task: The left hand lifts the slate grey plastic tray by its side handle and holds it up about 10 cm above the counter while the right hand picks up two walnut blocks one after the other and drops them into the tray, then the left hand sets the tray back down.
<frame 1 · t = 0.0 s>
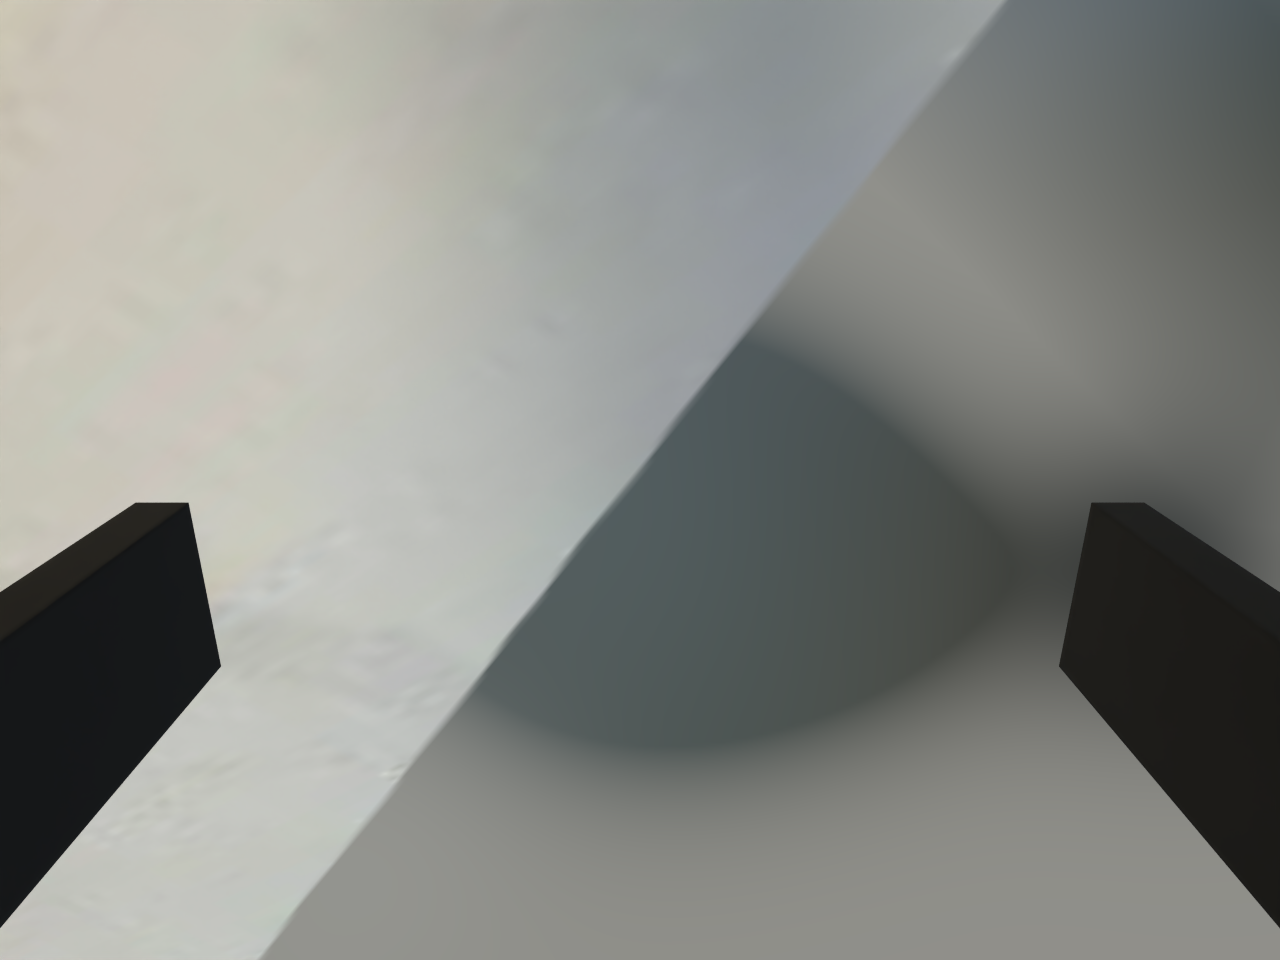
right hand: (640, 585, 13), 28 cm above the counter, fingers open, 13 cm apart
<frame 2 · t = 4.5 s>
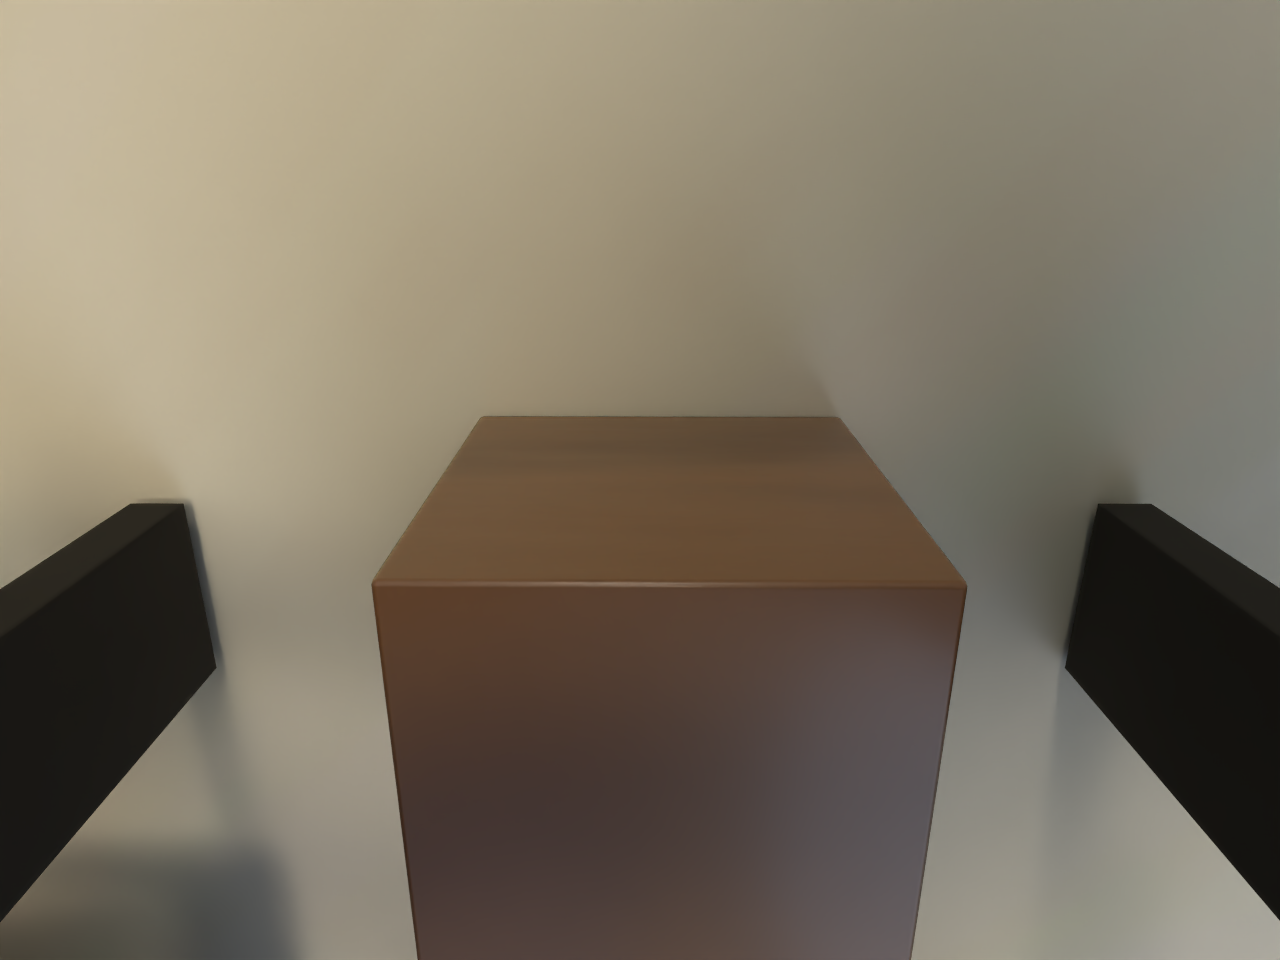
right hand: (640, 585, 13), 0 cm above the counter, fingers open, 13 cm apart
walnut block 1: (658, 577, 13), on the counter
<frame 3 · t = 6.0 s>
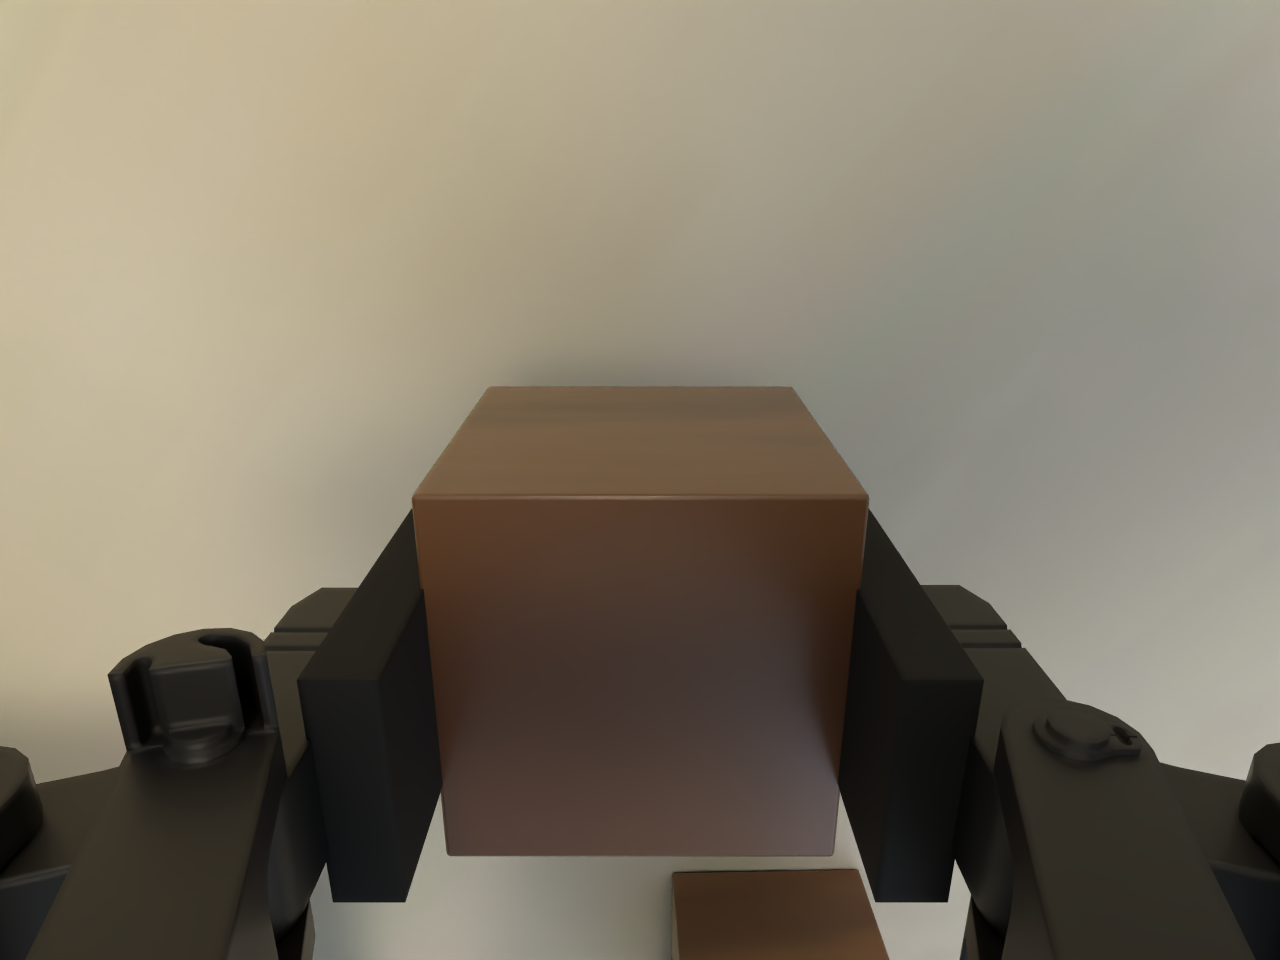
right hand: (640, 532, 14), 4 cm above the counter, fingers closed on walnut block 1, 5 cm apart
walnut block 2: (761, 941, 23), on the counter
walnut block 1: (640, 526, 15), point 4 cm above the counter, touching right hand
when the right hand's fingers open (19 cm above the counter, at t = 8.9 s): walnut block 1 drops 9 cm, resting on tray.
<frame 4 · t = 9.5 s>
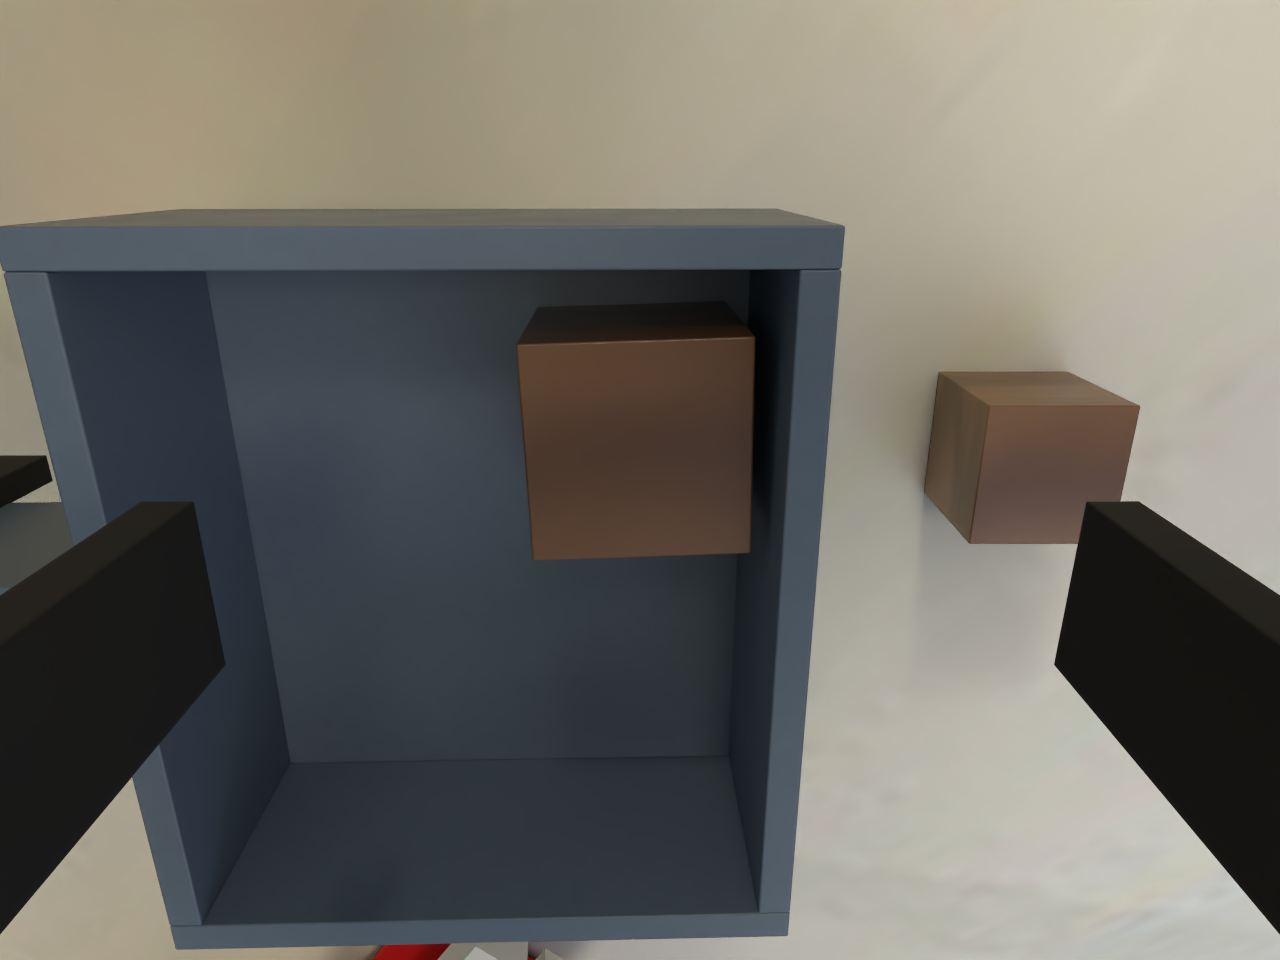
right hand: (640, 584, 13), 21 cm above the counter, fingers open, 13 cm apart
walnut block 2: (994, 433, 33), on the counter
walnut block 1: (634, 396, 23), point 9 cm above the counter, touching tray
tray: (500, 519, 25), point 9 cm above the counter, touching left hand, walnut block 1
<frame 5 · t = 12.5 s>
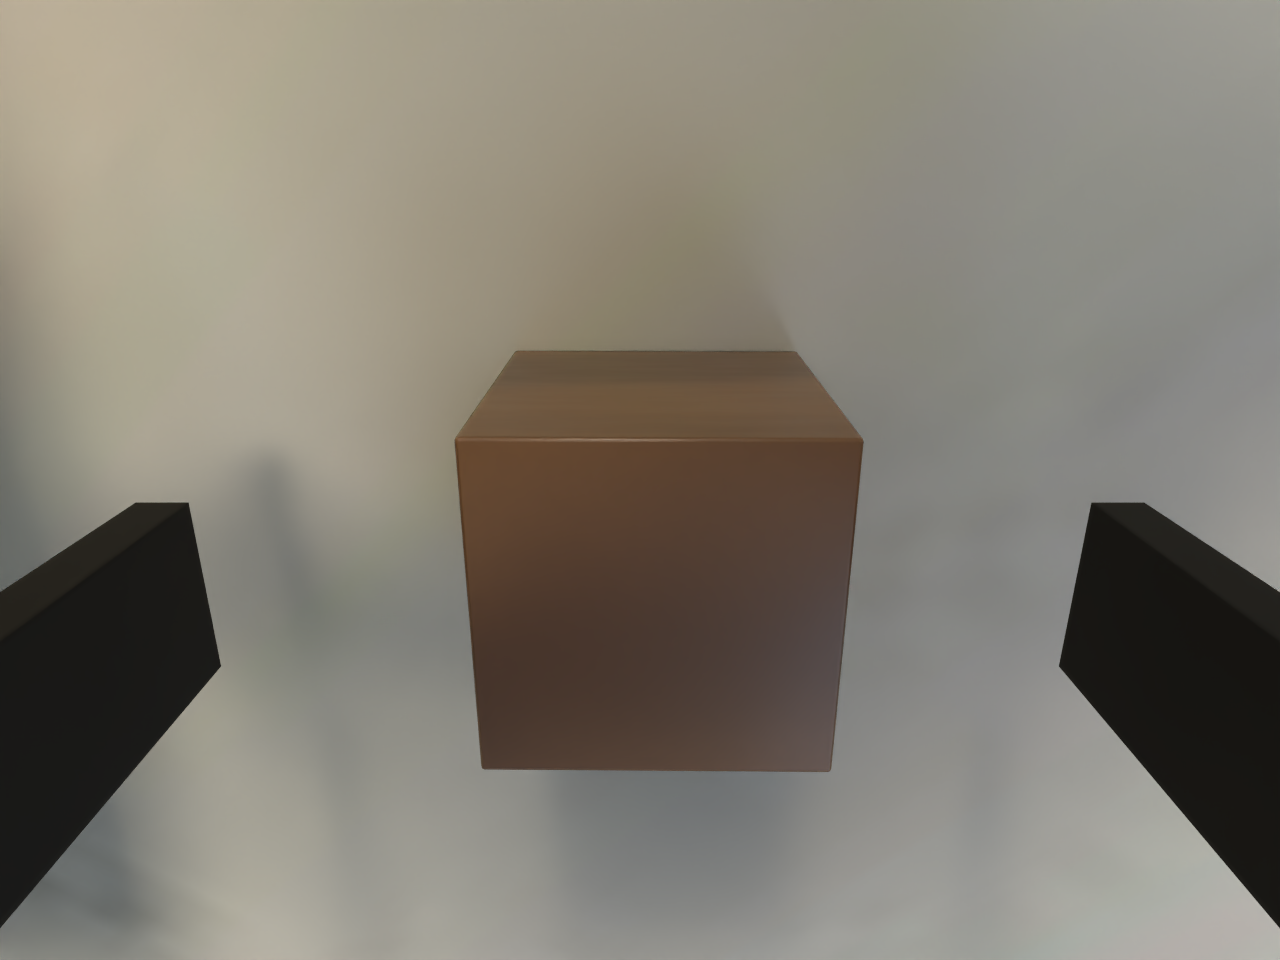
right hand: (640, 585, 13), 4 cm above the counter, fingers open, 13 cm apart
walnut block 2: (654, 482, 16), on the counter
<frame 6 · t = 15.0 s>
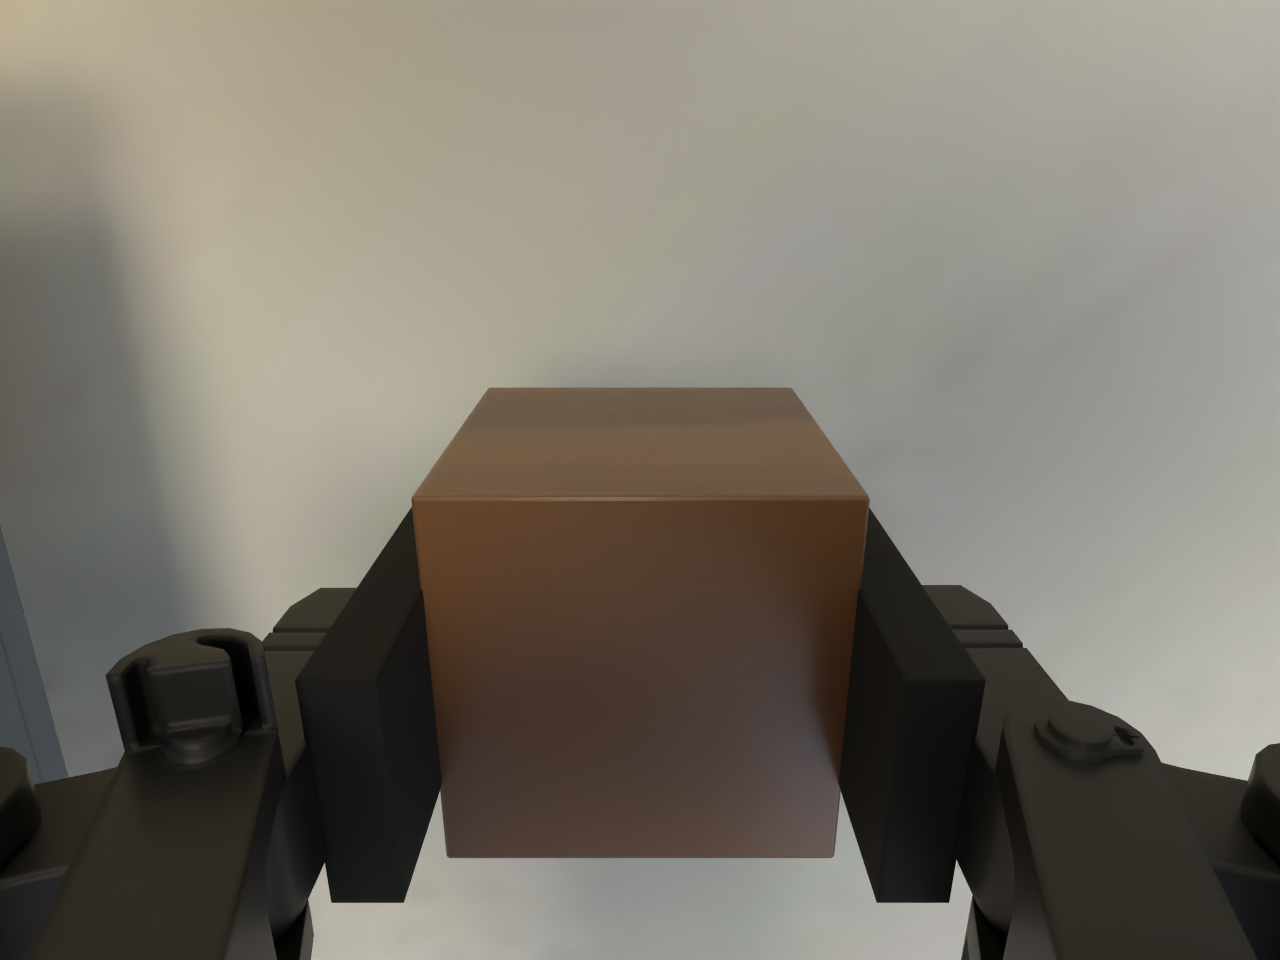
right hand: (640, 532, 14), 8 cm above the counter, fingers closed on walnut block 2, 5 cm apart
walnut block 2: (640, 527, 15), point 7 cm above the counter, touching right hand
when the right hand's fingers open (19 cm above the counter, at t = 17.8 s): walnut block 2 drops 11 cm, resting on tray.
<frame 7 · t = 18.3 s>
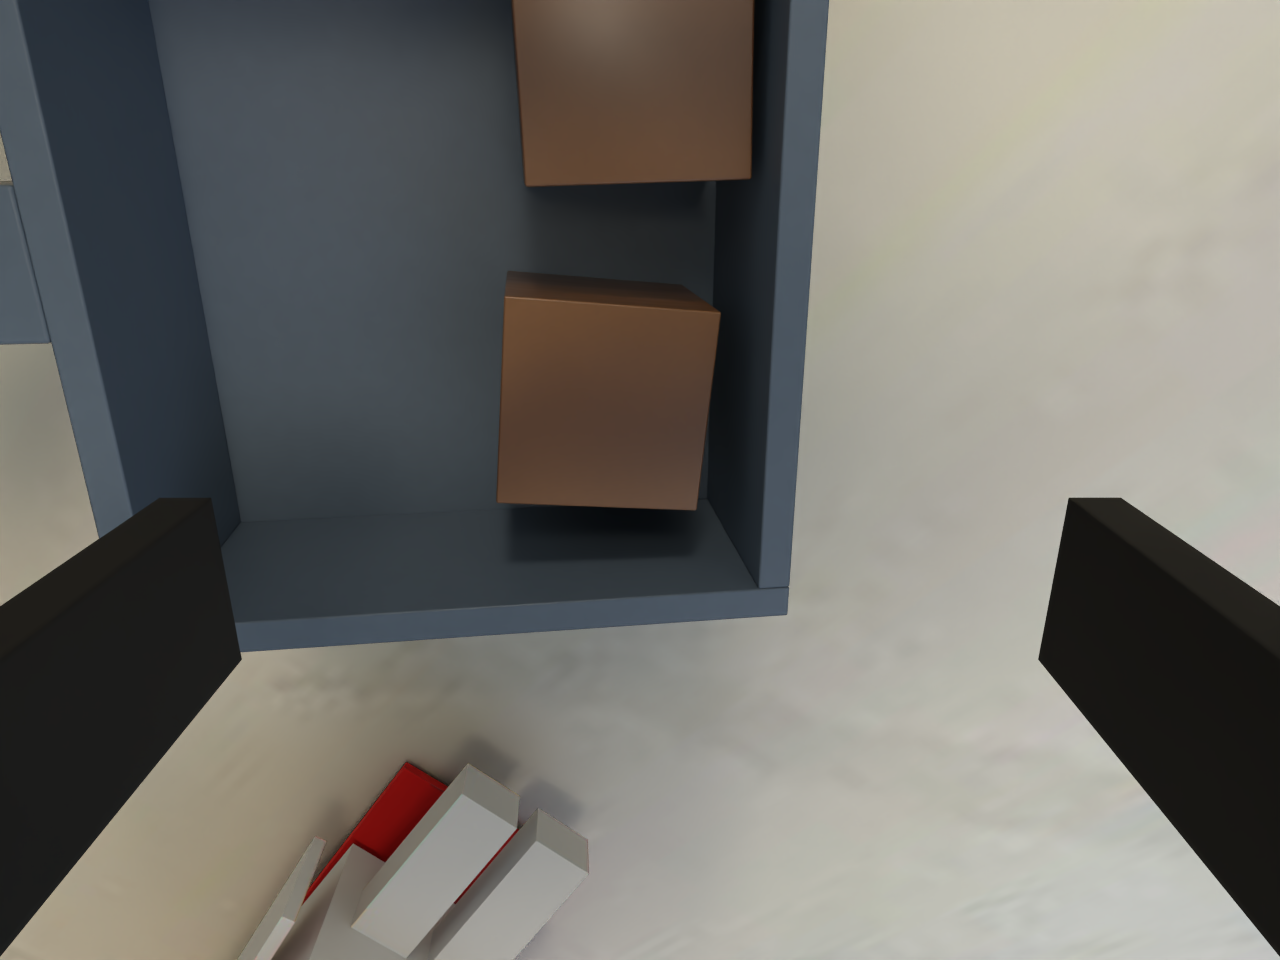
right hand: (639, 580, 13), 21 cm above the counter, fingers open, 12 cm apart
toy: (357, 941, 43), on the counter
walnut block 2: (590, 364, 25), point 8 cm above the counter, tilted 8°, touching tray
walnut block 1: (612, 79, 22), point 7 cm above the counter, tilted 8°, touching tray
tray: (464, 235, 24), point 7 cm above the counter, tilted 8°, touching left hand, walnut block 1, walnut block 2
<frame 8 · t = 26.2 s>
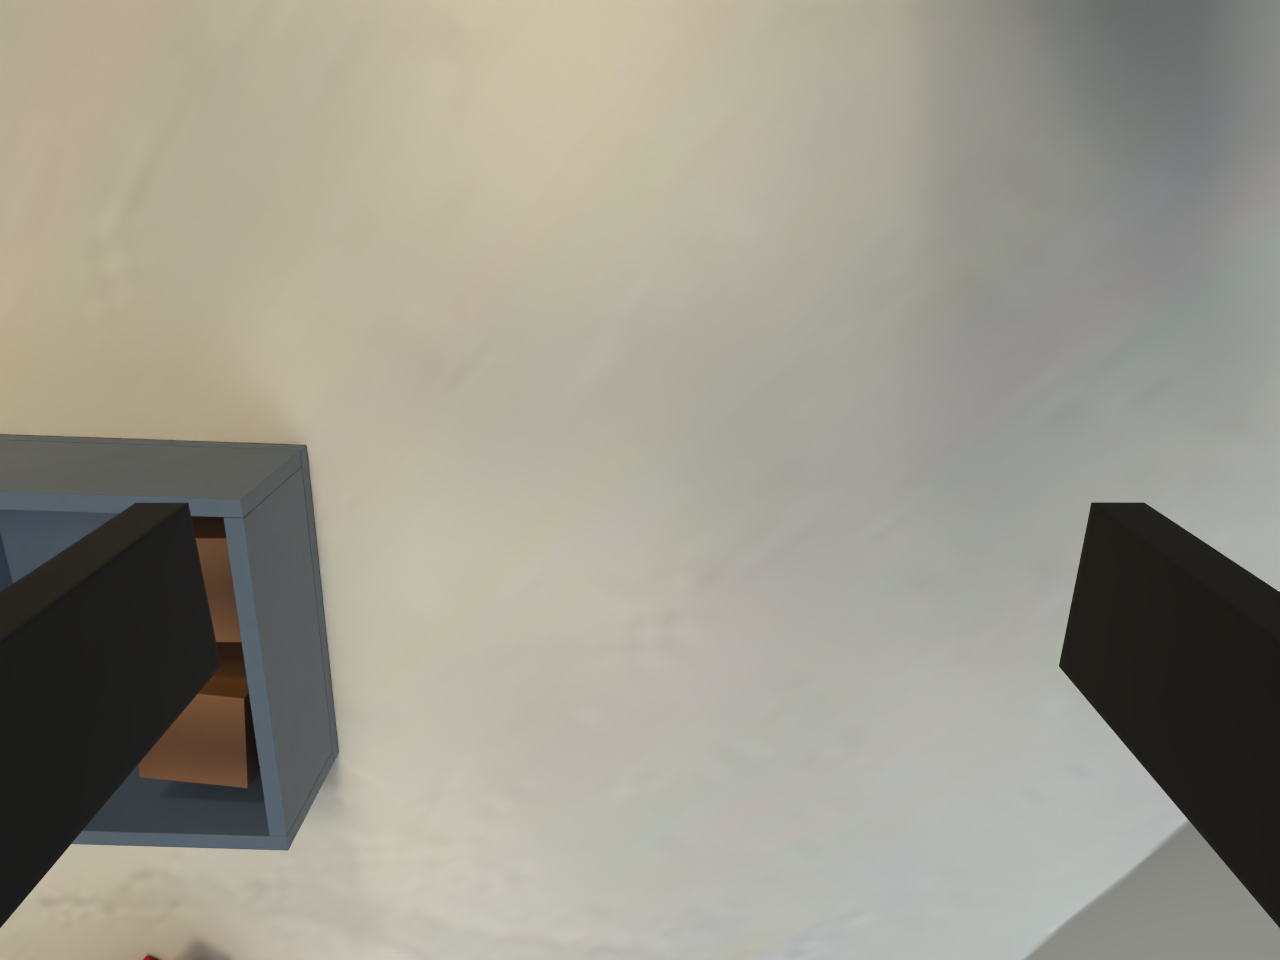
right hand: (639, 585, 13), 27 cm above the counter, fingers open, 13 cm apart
walnut block 2: (239, 677, 43), point 1 cm above the counter, touching tray
walnut block 1: (234, 542, 41), point 1 cm above the counter, touching tray
tray: (169, 604, 43), on the counter, touching walnut block 1, walnut block 2
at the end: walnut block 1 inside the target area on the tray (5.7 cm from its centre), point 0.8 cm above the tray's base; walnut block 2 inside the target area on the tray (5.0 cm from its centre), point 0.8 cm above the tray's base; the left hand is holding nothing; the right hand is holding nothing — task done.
